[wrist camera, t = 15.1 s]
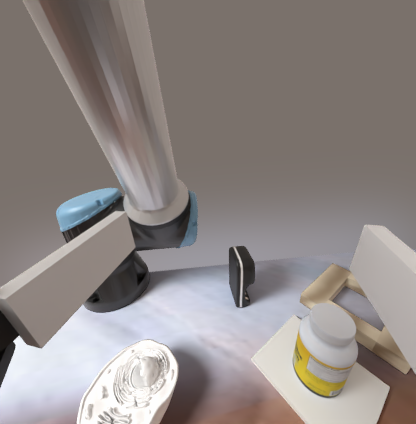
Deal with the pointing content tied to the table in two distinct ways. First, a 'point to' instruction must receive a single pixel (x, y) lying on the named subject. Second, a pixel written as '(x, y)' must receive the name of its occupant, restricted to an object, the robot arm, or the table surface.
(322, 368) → the pill bottle
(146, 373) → the cell model
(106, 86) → the robot arm
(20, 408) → the table surface
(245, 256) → the battery charger
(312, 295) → the holder
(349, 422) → the pad
